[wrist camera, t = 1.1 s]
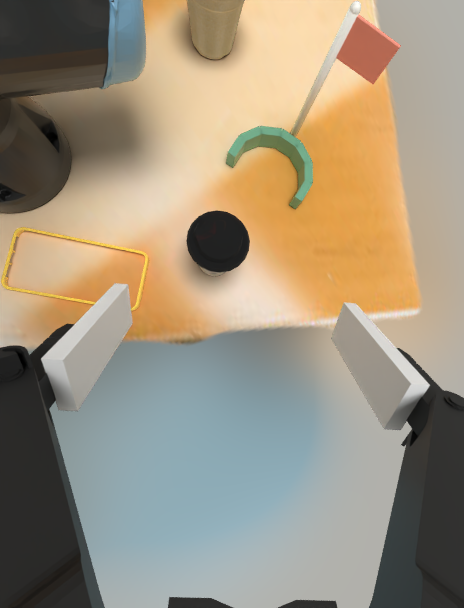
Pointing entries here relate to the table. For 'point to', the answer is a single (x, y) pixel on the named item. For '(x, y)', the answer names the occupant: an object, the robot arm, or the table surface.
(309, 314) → the table surface
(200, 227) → the coffee cup
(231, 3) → the flower pot
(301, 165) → the cup ring
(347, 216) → the table surface
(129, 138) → the table surface
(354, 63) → the flag
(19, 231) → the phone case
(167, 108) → the table surface
